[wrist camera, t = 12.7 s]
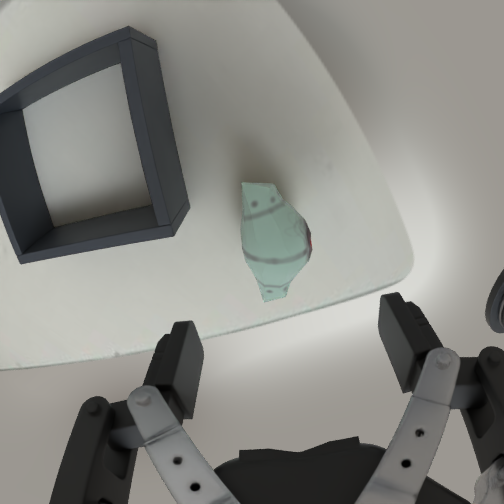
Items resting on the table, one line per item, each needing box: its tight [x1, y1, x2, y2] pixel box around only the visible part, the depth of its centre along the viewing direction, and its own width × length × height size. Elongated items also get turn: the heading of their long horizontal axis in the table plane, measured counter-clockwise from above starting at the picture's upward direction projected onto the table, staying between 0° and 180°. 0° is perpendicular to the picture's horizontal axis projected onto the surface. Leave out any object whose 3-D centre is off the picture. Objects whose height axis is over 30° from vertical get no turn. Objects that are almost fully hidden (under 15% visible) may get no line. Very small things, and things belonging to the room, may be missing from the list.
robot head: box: [241, 182, 312, 302], centre depth 19 cm, size 8×4×7 cm, turn 10°
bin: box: [0, 26, 190, 264], centre depth 17 cm, size 14×13×5 cm
